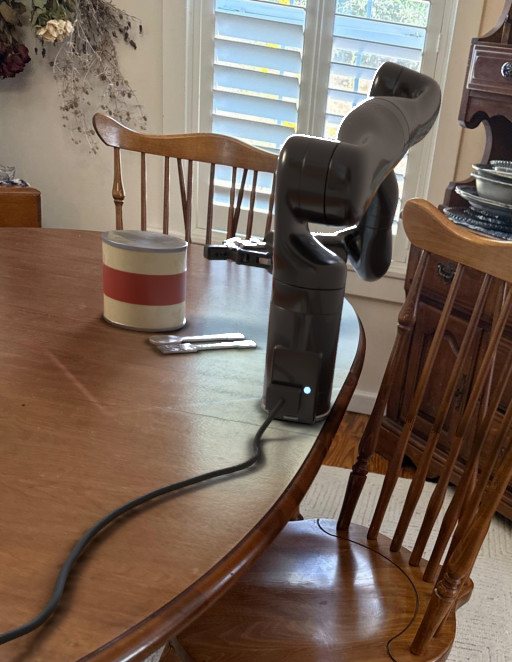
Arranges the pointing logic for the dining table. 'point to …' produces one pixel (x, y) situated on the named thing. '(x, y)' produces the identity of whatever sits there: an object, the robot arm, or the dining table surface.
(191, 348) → the fork
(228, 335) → the spoon
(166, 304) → the coffee tin
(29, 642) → the dining table surface
